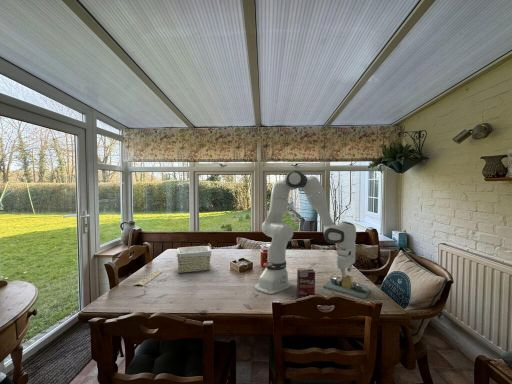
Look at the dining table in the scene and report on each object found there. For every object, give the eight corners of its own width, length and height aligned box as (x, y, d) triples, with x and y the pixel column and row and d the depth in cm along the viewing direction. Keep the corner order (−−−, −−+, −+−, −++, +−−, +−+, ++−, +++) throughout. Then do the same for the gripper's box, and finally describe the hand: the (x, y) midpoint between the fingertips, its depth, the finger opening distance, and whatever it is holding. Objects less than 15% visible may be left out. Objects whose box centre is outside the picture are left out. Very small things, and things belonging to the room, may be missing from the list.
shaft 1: (343, 285, 140) (343, 278, 140) (337, 286, 138) (338, 279, 138) (334, 280, 147) (334, 274, 147) (328, 282, 145) (328, 275, 145)
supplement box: (298, 302, 121) (299, 272, 121) (296, 298, 126) (296, 269, 125) (315, 302, 121) (315, 272, 121) (312, 297, 126) (312, 268, 126)
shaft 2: (368, 291, 132) (368, 283, 132) (366, 294, 128) (366, 286, 128) (354, 287, 137) (354, 280, 137) (352, 290, 133) (352, 283, 133)
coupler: (341, 287, 137) (341, 275, 137) (343, 285, 140) (344, 273, 140) (350, 289, 134) (350, 277, 134) (352, 287, 137) (352, 275, 137)
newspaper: (143, 287, 141) (143, 284, 141) (132, 286, 142) (132, 283, 142) (162, 272, 164) (162, 270, 164) (153, 272, 165) (153, 270, 165)
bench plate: (364, 299, 125) (364, 297, 125) (323, 287, 139) (323, 285, 139) (370, 290, 135) (370, 289, 135) (331, 280, 149) (331, 279, 149)
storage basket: (209, 263, 182) (209, 245, 182) (211, 270, 167) (211, 250, 166) (176, 267, 175) (176, 247, 174) (176, 274, 159) (176, 253, 159)
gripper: (347, 245, 146) (347, 267, 146) (335, 251, 130) (334, 276, 130) (358, 247, 142) (357, 270, 142) (346, 254, 126) (345, 279, 126)
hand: (346, 273), depth 136 cm, fingers open, 8 cm apart
